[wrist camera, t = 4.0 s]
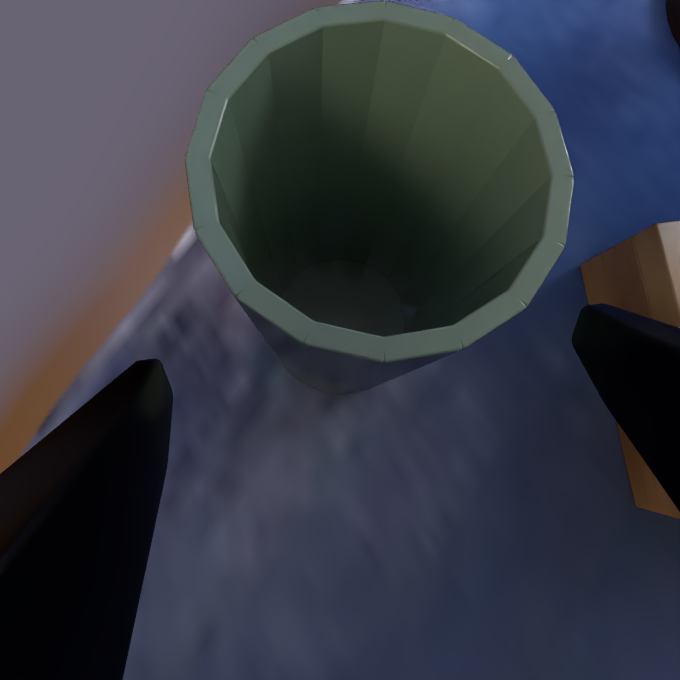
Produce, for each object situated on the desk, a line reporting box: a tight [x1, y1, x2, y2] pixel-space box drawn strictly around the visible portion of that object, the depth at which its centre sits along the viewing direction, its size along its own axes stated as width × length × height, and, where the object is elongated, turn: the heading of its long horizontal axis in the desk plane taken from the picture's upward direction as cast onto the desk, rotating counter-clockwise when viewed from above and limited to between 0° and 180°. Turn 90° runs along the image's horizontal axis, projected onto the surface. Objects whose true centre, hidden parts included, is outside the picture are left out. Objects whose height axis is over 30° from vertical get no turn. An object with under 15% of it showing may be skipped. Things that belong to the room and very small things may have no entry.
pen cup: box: [185, 1, 574, 394], centre depth 13 cm, size 6×6×12 cm
